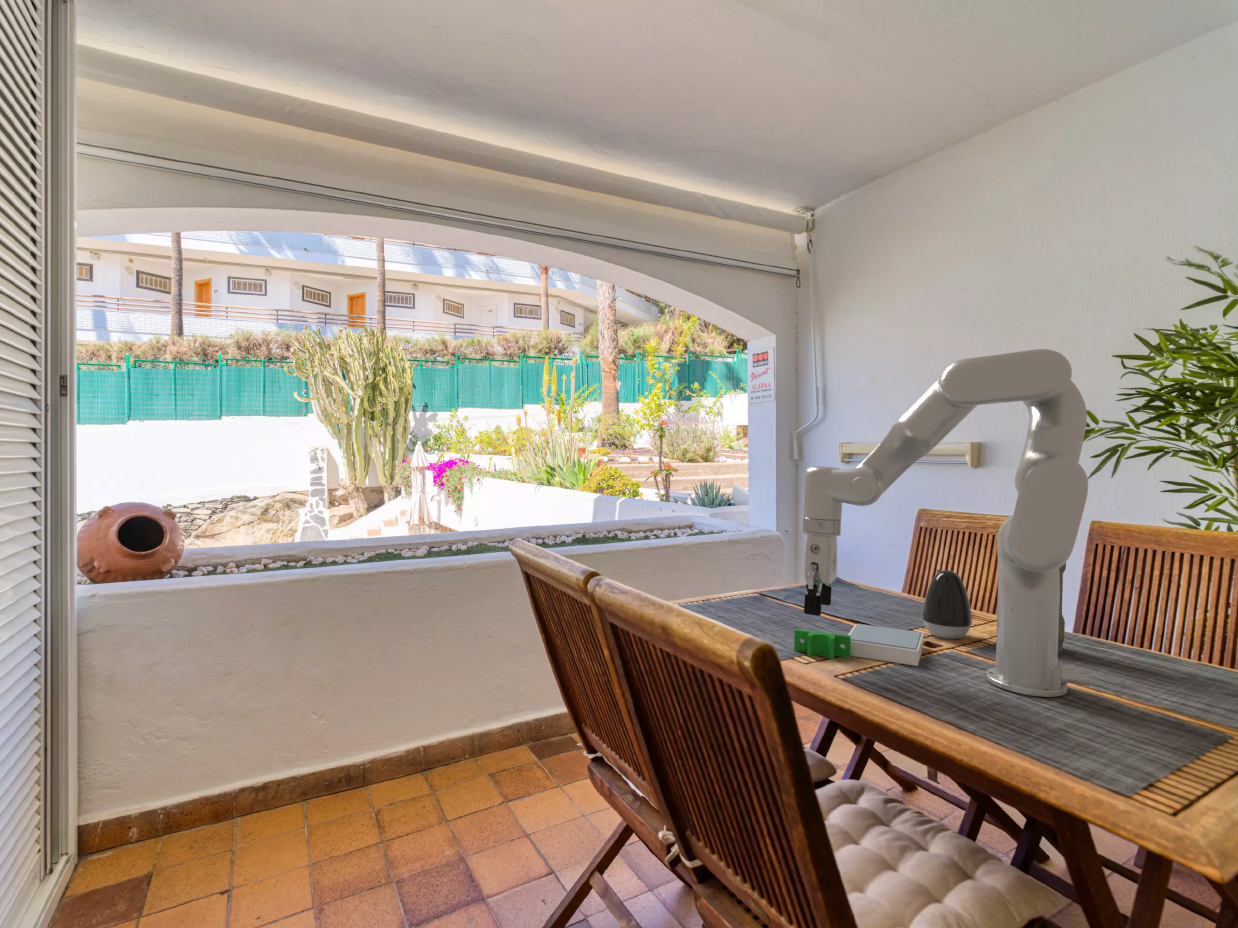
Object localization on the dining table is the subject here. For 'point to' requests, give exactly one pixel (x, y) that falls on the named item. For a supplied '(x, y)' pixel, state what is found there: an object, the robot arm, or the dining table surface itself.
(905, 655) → the stand
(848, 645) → the pipe clamp
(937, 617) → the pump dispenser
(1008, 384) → the robot arm
